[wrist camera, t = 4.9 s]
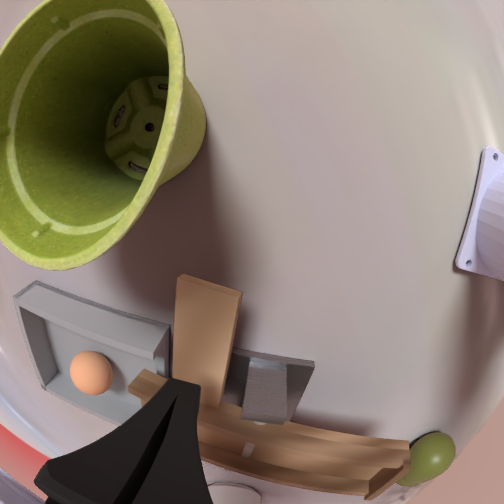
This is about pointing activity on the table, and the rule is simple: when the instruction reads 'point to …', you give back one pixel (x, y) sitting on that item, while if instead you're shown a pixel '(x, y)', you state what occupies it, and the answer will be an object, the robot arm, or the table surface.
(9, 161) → the plant pot
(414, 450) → the pear
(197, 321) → the plank
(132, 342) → the tray
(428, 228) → the table surface
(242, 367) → the fulcrum
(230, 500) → the can
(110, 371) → the ball
